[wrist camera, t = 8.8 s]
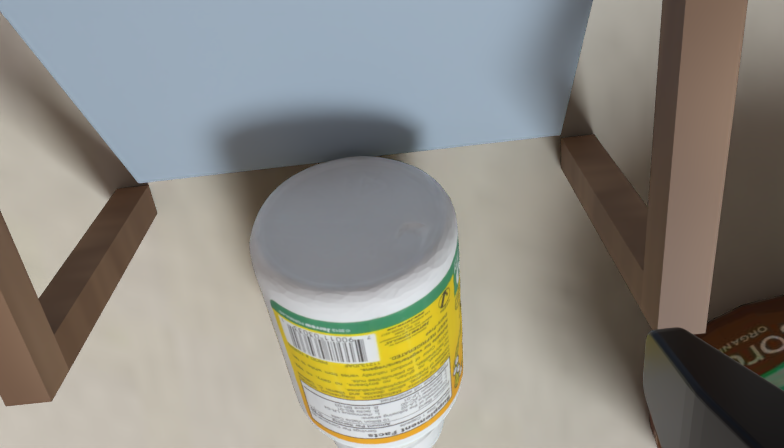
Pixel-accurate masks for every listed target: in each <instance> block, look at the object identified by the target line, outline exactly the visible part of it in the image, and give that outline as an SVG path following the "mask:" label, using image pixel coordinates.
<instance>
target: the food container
mask: <svg viewBox="0 0 784 448" xmlns="http://www.w3.org/2000/svg"><path fill="white" fill-rule="evenodd" d="M694 335H695V336H697V337H698V338H700V339H702V340H703V341H705V342H706V343H708V344H710V345H711V346H713V347H714V348H716V349H718V350H719V351H721V352H722V353H724V354H726V355H727V356H729V357H730V358H732V359H734V360H735V361H737V362H739V363H740V364H742V365H743V366H745V367H747V368H748V369H750V370H751V371H753V372H755V373H756V374H758V375H759V376H761V377H763V378H764V379H766V380H767V381H769V382H771V383H772V384H774V385H775V386H777V387H779V388H780V389H782V390H784V295H781V296H777V297H773V298H769V299H765V300H761V301H757V302H753V303H749V304H745V305H742V306H740V307H738V308H736V309H734V310H732V311H730V312H728V313H726V314H724V315H722V316H720V317H718V318H716V319H713V320H711V321H710V322H709V323H707V325H706V333H702V334H694ZM649 420H650V424H651V428H652V432H653V435H654V438H655V441H656V444H657V447H658V448H662V447H661V444H660V441H659V438H658V435H657V432H656V429H655V426H654V423H653V419H652V416H651V413H650V410H649Z"/></svg>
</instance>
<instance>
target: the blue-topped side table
mask: <svg viewBox="0 0 784 448" xmlns="http://www.w3.org/2000/svg"><path fill="white" fill-rule="evenodd" d="M747 4H748V0H663V1H662V15H661V29H660V44H659V58H658V72H657V86H656V100H655V114H654V129H653V143H652V157H651V171H650V185H649V200H648V207H647V206H646V205H645V203H644V202H643V201H642V199H641V198H640V196H639V195H638V194H637V192H636V191H635V190H634V188H633V187H632V185H631V184H630V183H629V181H628V180H627V179H626V177H625V176H624V175H623V173H622V172H621V170H620V169H619V168H618V166H617V165H616V164H615V162H614V161H613V160H612V158H611V157H610V155H609V154H608V153H607V151H606V150H605V149H604V147H603V146H602V145H601V143H600V142H599V140H598V139H597V138H596V136H595V135H594V134H592V135H583V136H574V137H565V138H561V169H562V170H563V172H564V174H565V176H566V178H567V179H568V181H569V183H570V185H571V186H572V188H573V190H574V192H575V194H576V195H577V197H578V199H579V201H580V203H581V204H582V206H583V208H584V210H585V211H586V213H587V215H588V217H589V219H590V220H591V222H592V224H593V226H594V227H595V229H596V231H597V233H598V235H599V236H600V238H601V240H602V242H603V243H604V245H605V247H606V249H607V251H608V252H609V254H610V256H611V258H612V259H613V261H614V263H615V265H616V267H617V268H618V270H619V272H620V274H621V276H622V277H623V279H624V281H625V283H626V284H627V286H628V288H629V290H630V292H631V293H632V295H633V297H634V299H635V300H636V302H637V304H638V306H639V308H640V309H641V311H642V313H643V315H644V316H645V318H646V320H647V322H648V324H649V325H650V327H651V329H652V330H655V329H665V328H674V327H680V328H683V329H685V330H687V331H689V332H690V333H692V334H702V333H706V325H707V317H708V309H709V302H710V294H711V286H712V278H713V270H714V262H715V255H716V247H717V239H718V231H719V223H720V215H721V208H722V200H723V192H724V184H725V176H726V168H727V160H728V153H729V145H730V137H731V129H732V121H733V113H734V106H735V98H736V90H737V82H738V74H739V66H740V59H741V51H742V43H743V35H744V27H745V19H746V11H747ZM156 215H157V211H156V207H155V204H154V201H153V198H152V195H151V191H150V188H149V185H145V186H136V187H128V188H119V189H116V191H115V192H114V194H113V195H112V196H111V198H110V199H109V201H108V202H107V203H106V205H105V206H104V208H103V209H102V210H101V212H100V213H99V215H98V216H97V217H96V219H95V220H94V222H93V223H92V224H91V226H90V227H89V229H88V230H87V232H86V233H85V234H84V236H83V237H82V239H81V240H80V241H79V243H78V244H77V246H76V247H75V248H74V250H73V251H72V253H71V254H70V255H69V257H68V258H67V260H66V261H65V262H64V264H63V265H62V267H61V268H60V269H59V271H58V272H57V274H56V275H55V276H54V278H53V279H52V281H51V282H50V283H49V285H48V286H47V288H46V289H45V290H44V292H43V293H42V295H41V296H40V297H39V299H38V297H37V294H36V292H35V290H34V288H33V285H32V283H31V281H30V278H29V276H28V274H27V271H26V269H25V267H24V264H23V262H22V260H21V257H20V255H19V253H18V251H17V248H16V246H15V244H14V241H13V239H12V237H11V234H10V232H9V230H8V227H7V225H6V223H5V221H4V218H3V216H2V214H1V211H0V396H1V398H2V400H3V402H4V404H5V405H6V406H13V405H23V404H32V403H42V402H51V401H52V400H53V398H54V397H55V395H56V393H57V391H58V389H59V388H60V386H61V384H62V382H63V381H64V379H65V377H66V375H67V373H68V372H69V370H70V368H71V366H72V364H73V363H74V361H75V359H76V357H77V356H78V354H79V352H80V350H81V348H82V347H83V345H84V343H85V341H86V340H87V338H88V336H89V334H90V332H91V331H92V329H93V327H94V325H95V323H96V322H97V320H98V318H99V316H100V315H101V313H102V311H103V309H104V307H105V306H106V304H107V302H108V300H109V299H110V297H111V295H112V293H113V291H114V290H115V288H116V286H117V284H118V282H119V281H120V279H121V277H122V275H123V274H124V272H125V270H126V268H127V266H128V265H129V263H130V261H131V259H132V258H133V256H134V254H135V252H136V250H137V249H138V247H139V245H140V243H141V241H142V240H143V238H144V236H145V234H146V233H147V231H148V229H149V227H150V225H151V224H152V222H153V220H154V218H155V217H156Z"/></svg>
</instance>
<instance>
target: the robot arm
mask: <svg viewBox="0 0 784 448" xmlns="http://www.w3.org/2000/svg"><path fill="white" fill-rule="evenodd" d="M643 388H644V394H645V398H646V401H647V404H648V407H649V410H650V413H651V416H652V419H653V423H654V426H655V429H656V432H657V435H658V438H659V441H660V444H661V447H662V448H784V390H782V389H780V388H779V387H777V386H775V385H774V384H772V383H771V382H769V381H767V380H766V379H764V378H763V377H761V376H759V375H758V374H756V373H755V372H753V371H751V370H750V369H748V368H747V367H745V366H743V365H742V364H740V363H739V362H737V361H735V360H734V359H732V358H730V357H729V356H727V355H726V354H724V353H722V352H721V351H719V350H718V349H716V348H714V347H713V346H711V345H710V344H708V343H706V342H705V341H703V340H702V339H700V338H698V337H697V336H695V335H694V334H692V333H690V332H689V331H687V330H685V329H683V328H680V327H674V328H665V329H655V330H652V331H650V332H649V333H648V335H647V338H646V345H645V358H644V371H643Z"/></svg>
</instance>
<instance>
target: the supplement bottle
mask: <svg viewBox="0 0 784 448" xmlns="http://www.w3.org/2000/svg"><path fill="white" fill-rule="evenodd" d="M249 245H250V255H251V260H252V265H253V268H254V271H255V274H256V278H257V281H258V284H259V287H260V289H261V292H262V295H263V298H264V301H265V304H266V306H267V309H268V312H269V315H270V318H271V321H272V324H273V327H274V330H275V333H276V336H277V339H278V342H279V345H280V347H281V350H282V353H283V356H284V359H285V362H286V365H287V369H288V372H289V375H290V378H291V381H292V384H293V387H294V390H295V393H296V395H297V398H298V401H299V403H300V405H301V407H302V409H303V411H304V413H305V414H306V416H307V417H308V418H309V420H310V421H311V422H312V424H314V425H315V426H316V427H317V428H318V429H319V430H320V431H321V432H322V433H324V434H325V435H327V436H328V437H330V438H331V439H333V440H334V442H335V444H336V445H337V446H338V448H431V447H432V446H433V445H434V444H435V442H436V441H437V439H438V438H439V435H440V433H441V430H442V427H443V423H444V418H445V416H446V415H447V414H448V412H449V411H450V409H451V408H452V406H453V404H454V403H455V400H456V398H457V396H458V393H459V390H460V386H461V382H462V375H463V343H462V316H461V301H460V269H459V243H458V227H457V219H456V214H455V210H454V207H453V204H452V202H451V199H450V197H449V196H448V195H447V193H446V192H445V190H444V189H443V188H442V187H441V185H440V184H439V183H438V182H437V181H436V180H435V179H433V178H432V177H431V176H429V175H428V174H427V173H425V172H424V171H422V170H420V169H419V168H417V167H414V166H411V165H409V164H406V163H404V162H400V161H396V160H392V159H387V158H381V157H373V156H354V157H346V158H341V159H335V160H331V161H328V162H324V163H320V164H317V165H314V166H312V167H310V168H307V169H305V170H303V171H301V172H299V173H297V174H295V175H293V176H292V177H290V178H289V179H287V180H286V181H284V182H283V183H282V184H281V185H280V186H278V187H277V188H276V189H275V190H274V191H273V192H272V193H271V195H270V196H269V197H268V198H267V199H266V201H265V202H264V204H263V205H262V207H261V209H260V211H259V213H258V215H257V217H256V220H255V223H254V225H253V228H252V233H251V237H250V242H249Z"/></svg>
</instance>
